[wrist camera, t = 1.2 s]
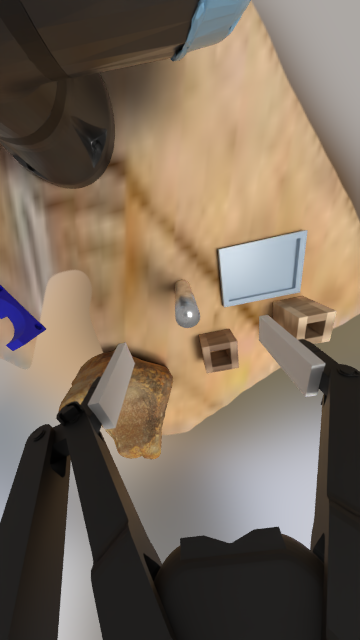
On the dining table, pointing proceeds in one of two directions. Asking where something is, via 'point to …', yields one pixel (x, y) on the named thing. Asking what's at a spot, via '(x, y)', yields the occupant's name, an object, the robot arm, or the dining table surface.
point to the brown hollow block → (219, 358)
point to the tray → (262, 268)
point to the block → (304, 318)
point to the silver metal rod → (185, 305)
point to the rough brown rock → (131, 404)
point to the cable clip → (18, 320)
